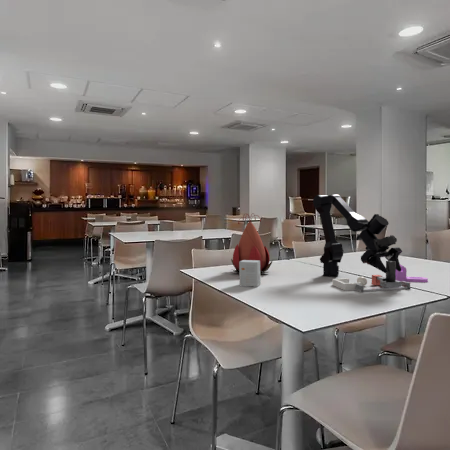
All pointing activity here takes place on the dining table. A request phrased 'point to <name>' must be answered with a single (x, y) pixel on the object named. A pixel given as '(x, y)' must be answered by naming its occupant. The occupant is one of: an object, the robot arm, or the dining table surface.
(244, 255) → the decorative flower
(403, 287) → the rail
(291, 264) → the dining table surface
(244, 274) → the small box
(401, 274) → the bracket
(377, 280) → the post on base plate
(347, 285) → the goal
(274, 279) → the dining table surface
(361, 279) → the ball
